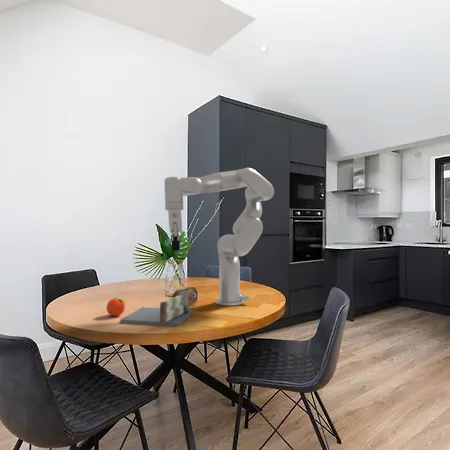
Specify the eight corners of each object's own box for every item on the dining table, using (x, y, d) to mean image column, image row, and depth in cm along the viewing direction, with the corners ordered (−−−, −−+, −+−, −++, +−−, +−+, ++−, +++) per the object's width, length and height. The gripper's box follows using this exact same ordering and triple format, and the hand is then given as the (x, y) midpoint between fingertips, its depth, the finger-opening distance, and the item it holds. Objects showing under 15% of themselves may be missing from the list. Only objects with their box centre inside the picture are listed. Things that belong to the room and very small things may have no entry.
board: (192, 312, 136) (192, 309, 136) (178, 326, 117) (178, 322, 117) (142, 310, 139) (142, 307, 139) (120, 323, 121) (120, 319, 121)
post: (189, 314, 132) (189, 290, 132) (187, 316, 129) (187, 292, 129) (181, 314, 133) (182, 290, 133) (179, 316, 130) (179, 292, 130)
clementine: (130, 314, 133) (130, 296, 133) (122, 318, 127) (122, 300, 127) (112, 313, 135) (112, 295, 135) (103, 317, 128) (103, 299, 128)
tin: (176, 311, 138) (176, 291, 138) (170, 310, 140) (170, 290, 140) (198, 304, 151) (198, 285, 151) (192, 303, 153) (192, 285, 153)
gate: (180, 312, 129) (180, 294, 130) (184, 312, 129) (184, 294, 129) (160, 322, 115) (160, 302, 115) (164, 323, 115) (164, 303, 115)
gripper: (184, 205, 133) (185, 251, 133) (182, 207, 147) (183, 248, 148) (165, 206, 131) (166, 252, 132) (165, 207, 146) (166, 249, 146)
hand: (175, 250), depth 140 cm, fingers closed
